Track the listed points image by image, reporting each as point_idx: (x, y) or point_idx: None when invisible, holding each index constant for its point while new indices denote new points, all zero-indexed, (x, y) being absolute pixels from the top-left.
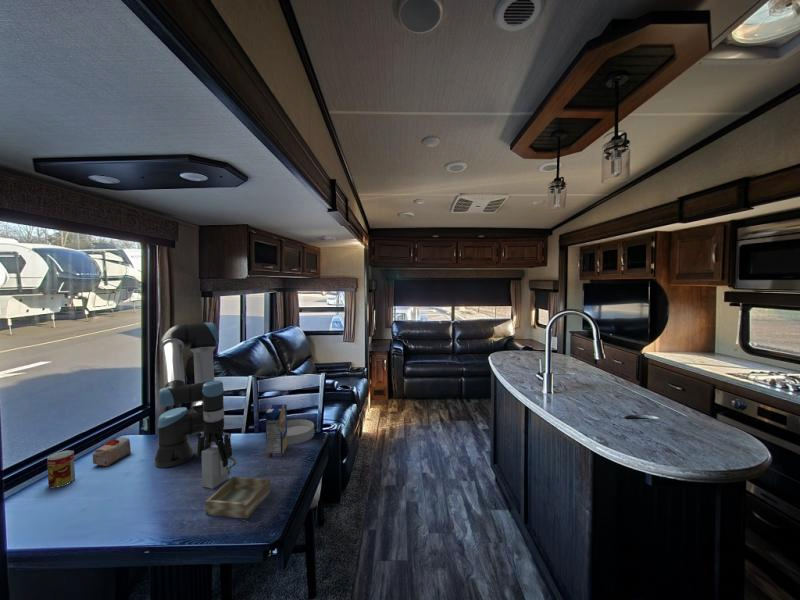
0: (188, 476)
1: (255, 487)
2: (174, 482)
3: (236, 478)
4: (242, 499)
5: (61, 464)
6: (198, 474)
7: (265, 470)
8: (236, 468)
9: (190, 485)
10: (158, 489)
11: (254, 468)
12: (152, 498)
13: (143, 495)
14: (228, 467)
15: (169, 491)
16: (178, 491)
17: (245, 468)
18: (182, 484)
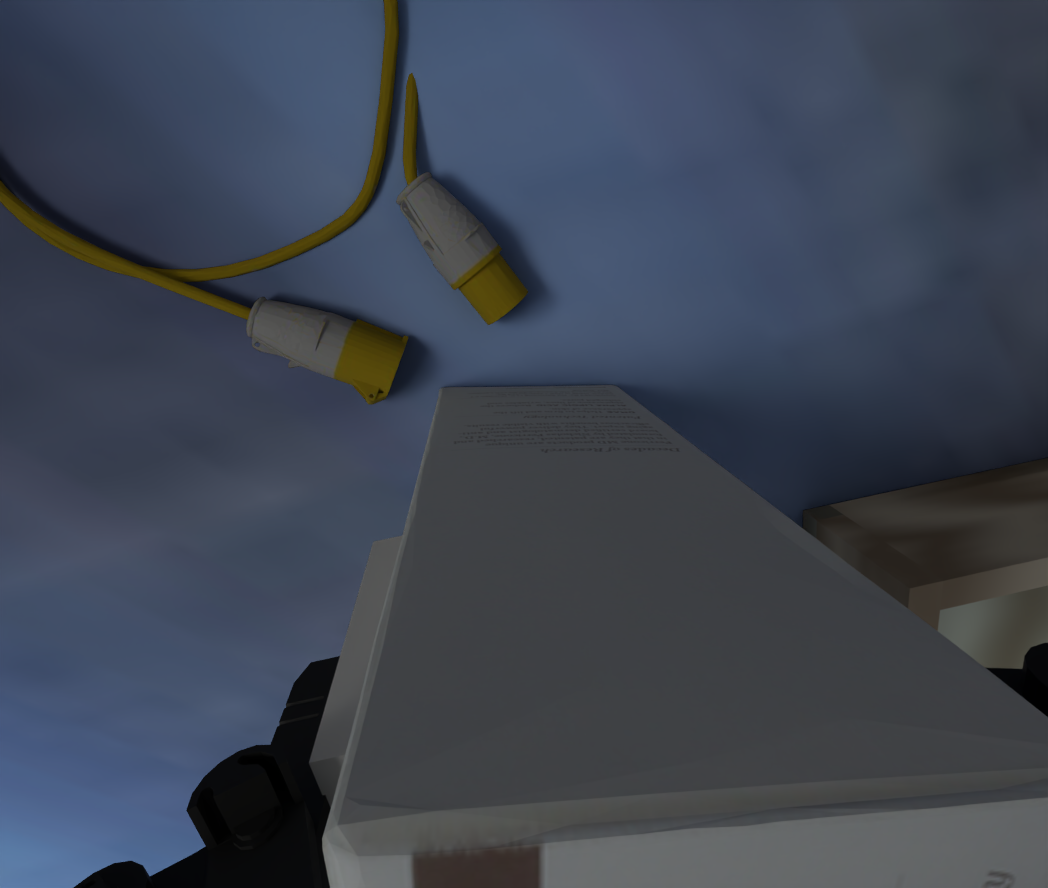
0: (36, 505)
1: None
2: (27, 649)
3: (975, 599)
4: (1015, 633)
5: None
6: (114, 425)
7: (1004, 16)
8: (524, 97)
9: (287, 623)
10: (24, 779)
11: (810, 7)
12: (156, 864)
13: (8, 874)
14: (387, 127)
15: (184, 758)
16: (276, 727)
17: (667, 52)
18: (173, 641)
